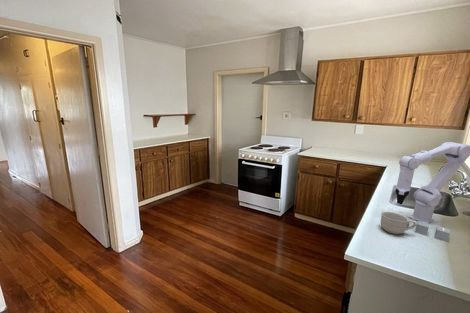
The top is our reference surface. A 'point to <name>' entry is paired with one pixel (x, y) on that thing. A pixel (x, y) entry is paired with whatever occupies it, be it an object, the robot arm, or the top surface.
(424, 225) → the plain block
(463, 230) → the top surface
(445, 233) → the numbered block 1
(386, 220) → the teacup
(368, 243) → the top surface
